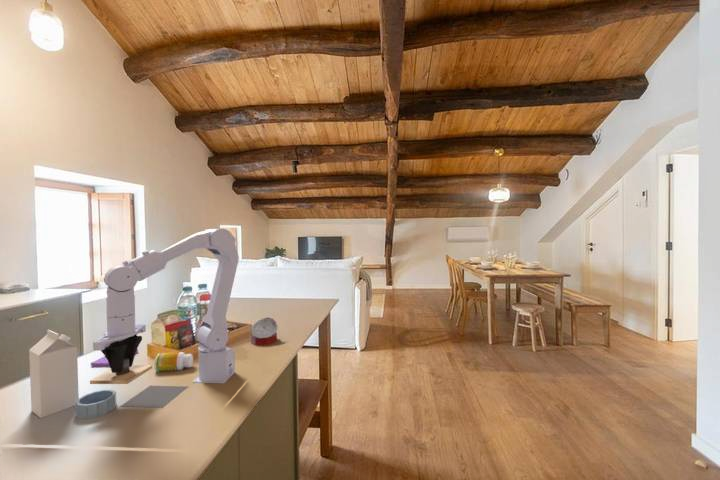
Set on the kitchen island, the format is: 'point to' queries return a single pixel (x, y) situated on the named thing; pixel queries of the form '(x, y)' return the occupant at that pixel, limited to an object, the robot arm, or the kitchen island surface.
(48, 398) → the milk carton
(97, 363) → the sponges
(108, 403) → the ceramic bowl
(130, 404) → the rubber mat
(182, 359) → the supplement bottle
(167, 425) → the kitchen island surface
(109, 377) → the oak lid
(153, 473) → the kitchen island surface
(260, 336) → the canned food
